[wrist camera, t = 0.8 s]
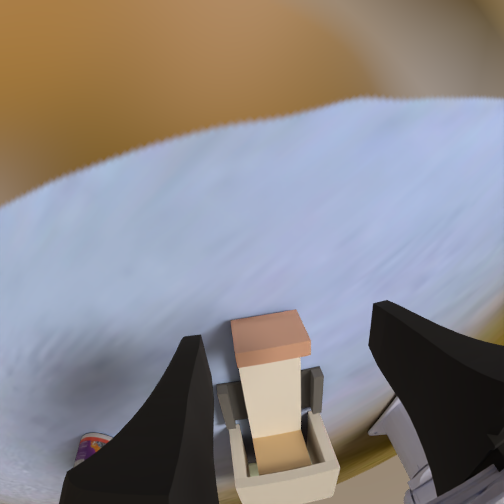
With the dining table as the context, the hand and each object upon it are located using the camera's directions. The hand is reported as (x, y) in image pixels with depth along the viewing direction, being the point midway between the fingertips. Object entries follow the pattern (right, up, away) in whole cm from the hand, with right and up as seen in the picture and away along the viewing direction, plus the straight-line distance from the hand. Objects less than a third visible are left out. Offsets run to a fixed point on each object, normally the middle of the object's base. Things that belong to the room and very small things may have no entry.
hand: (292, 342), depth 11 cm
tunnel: (+1, -16, +17) cm, 23 cm away
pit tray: (0, -9, +14) cm, 17 cm away
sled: (0, -11, +15) cm, 18 cm away
